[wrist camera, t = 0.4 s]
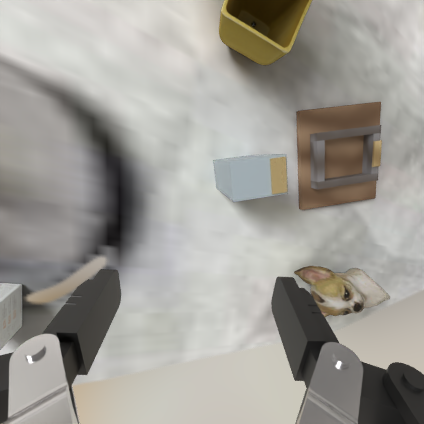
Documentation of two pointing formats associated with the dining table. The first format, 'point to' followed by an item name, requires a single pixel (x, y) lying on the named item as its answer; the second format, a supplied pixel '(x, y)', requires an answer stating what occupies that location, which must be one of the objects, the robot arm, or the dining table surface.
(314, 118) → the keyed seat
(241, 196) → the keyed plug
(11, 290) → the small box
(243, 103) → the dining table surface
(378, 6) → the dining table surface
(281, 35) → the flower pot
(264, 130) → the dining table surface
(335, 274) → the ceramic sculpture
